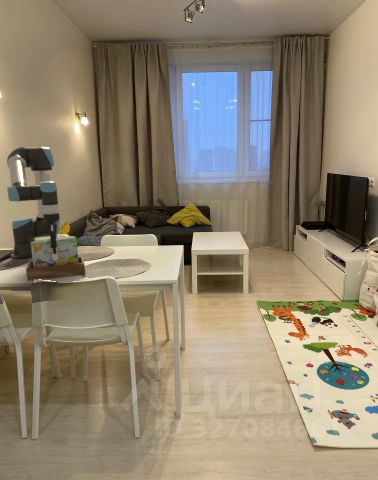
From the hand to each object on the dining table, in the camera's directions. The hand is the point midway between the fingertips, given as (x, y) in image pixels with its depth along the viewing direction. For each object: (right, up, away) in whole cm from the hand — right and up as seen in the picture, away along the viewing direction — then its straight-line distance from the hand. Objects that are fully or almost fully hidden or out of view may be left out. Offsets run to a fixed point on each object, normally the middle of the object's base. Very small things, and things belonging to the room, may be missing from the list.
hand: (55, 257), depth 186 cm
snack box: (0, -5, +1) cm, 5 cm away
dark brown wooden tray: (0, -8, +2) cm, 8 cm away
